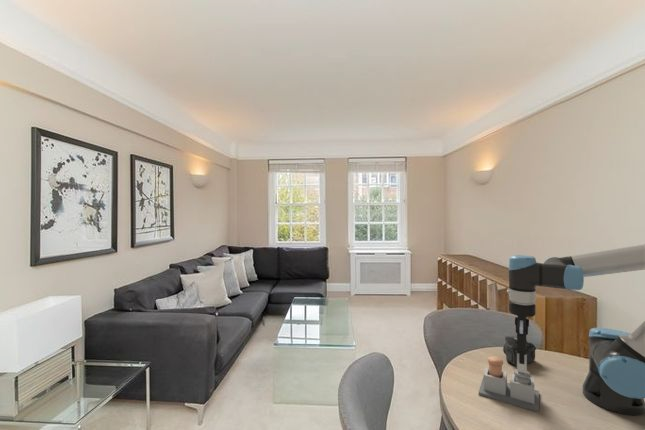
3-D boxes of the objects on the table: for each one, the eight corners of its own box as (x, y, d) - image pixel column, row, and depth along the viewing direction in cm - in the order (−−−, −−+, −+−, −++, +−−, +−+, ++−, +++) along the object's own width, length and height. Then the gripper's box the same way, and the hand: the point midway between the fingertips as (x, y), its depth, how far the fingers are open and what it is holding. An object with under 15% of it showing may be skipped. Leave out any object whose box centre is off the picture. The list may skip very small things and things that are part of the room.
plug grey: (531, 389, 105) (531, 371, 105) (530, 397, 101) (530, 377, 101) (514, 385, 108) (514, 367, 108) (513, 392, 104) (513, 373, 104)
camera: (511, 352, 138) (511, 329, 138) (537, 360, 130) (537, 336, 130) (498, 361, 130) (498, 337, 130) (525, 371, 122) (525, 345, 122)
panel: (538, 393, 107) (538, 375, 107) (538, 412, 97) (538, 393, 97) (483, 378, 117) (483, 362, 117) (478, 394, 107) (478, 377, 107)
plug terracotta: (503, 376, 110) (503, 358, 110) (502, 382, 106) (502, 364, 106) (488, 372, 113) (488, 355, 113) (486, 378, 109) (486, 360, 109)
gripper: (510, 295, 112) (510, 360, 112) (507, 305, 101) (507, 377, 102) (535, 298, 108) (535, 366, 108) (535, 309, 97) (535, 384, 97)
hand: (521, 371), depth 105 cm, fingers closed
